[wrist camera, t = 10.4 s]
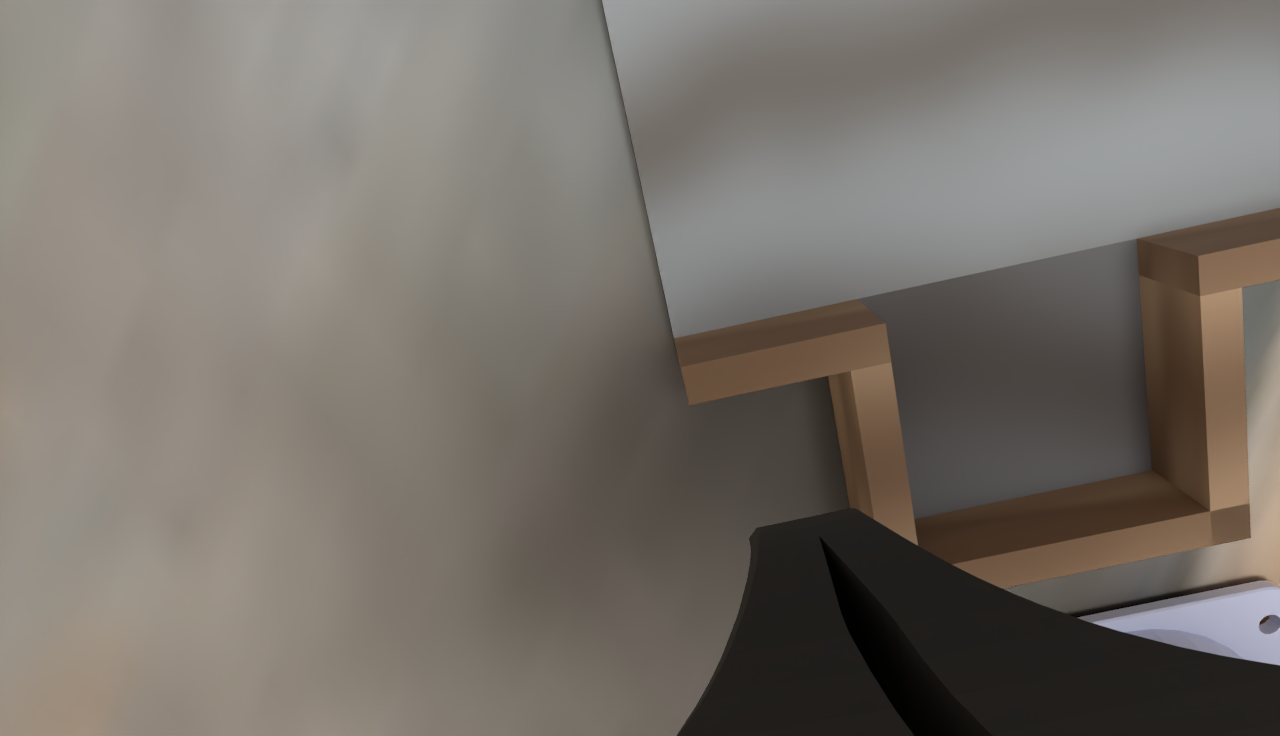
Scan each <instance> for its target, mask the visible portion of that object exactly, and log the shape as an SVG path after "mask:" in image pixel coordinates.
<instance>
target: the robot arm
mask: <svg viewBox="0 0 1280 736" xmlns="http://www.w3.org/2000/svg"><path fill="white" fill-rule="evenodd" d="M749 540H750V545H751V559H750V567H749V572H748V578H747V583H746V586H745V590H744V594H743V598H742V602H741V605H740V609H739V612H738V615H737V619H736V621H735V624H734V626H733V629H732V632H731V634H730V637H729V640H728V642H727V645H726V647H725V650H724V653H723V655H722V657H721V659H720V662H719V664H718V666H717V668H716V670H715V672H714V674H713V676H712V678H711V680H710V682H709V684H708V686H707V688H706V689H705V691H704V693H703V695H702V697H701V698H700V700H699V702H698V704H697V705H696V707H695V708H694V710H693V712H692V713H691V715H690V716H689V718H688V719H687V721H686V722H685V724H684V725H683V727H682V728H681V730H680V731H679V733H678V734H677V736H1280V587H1279V586H1277V585H1276V584H1275V583H1273V582H1270V581H1267V580H1264V581H1255V582H1250V583H1245V584H1240V585H1235V586H1230V587H1225V588H1220V589H1215V590H1211V591H1206V592H1201V593H1196V594H1191V595H1186V596H1181V597H1176V598H1171V599H1166V600H1161V601H1156V602H1151V603H1146V604H1141V605H1136V606H1131V607H1127V608H1122V609H1117V610H1112V611H1107V612H1102V613H1097V614H1092V615H1087V616H1082V617H1077V618H1076V617H1073V616H1071V615H1068V614H1065V613H1062V612H1059V611H1056V610H1054V609H1051V608H1048V607H1045V606H1042V605H1040V604H1037V603H1034V602H1032V601H1030V600H1027V599H1025V598H1022V597H1020V596H1017V595H1015V594H1013V593H1010V592H1008V591H1006V590H1004V589H1002V588H999V587H997V586H995V585H993V584H991V583H989V582H986V581H984V580H982V579H980V578H978V577H976V576H973V575H971V574H970V573H968V572H966V571H964V570H962V569H960V568H958V567H956V566H954V565H952V564H950V563H948V562H946V561H944V560H942V559H941V558H939V557H937V556H935V555H933V554H932V553H930V552H928V551H926V550H924V549H923V548H921V547H919V546H917V545H916V544H914V543H912V542H911V541H909V540H907V539H905V538H904V537H902V536H900V535H899V534H897V533H895V532H894V531H892V530H890V529H889V528H887V527H886V526H884V525H882V524H881V523H879V522H877V521H876V520H874V519H873V518H871V517H869V516H868V515H866V514H864V513H863V512H861V511H859V510H857V509H856V508H851V509H846V510H841V511H836V512H831V513H827V514H822V515H817V516H812V517H807V518H802V519H798V520H793V521H788V522H783V523H778V524H774V525H769V526H764V527H759V528H756V530H755V531H754V532H753V534H752V535H751V536H750V538H749ZM1268 615H1270V616H1269V619H1268V620H1267V621H1266V622H1265V623H1263V624H1261V625H1259V624H1260V621H1261V620H1262V619H1263V618H1264V617H1266V616H1268Z"/></svg>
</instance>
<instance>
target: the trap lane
mask: <svg viewBox="0 0 1280 736" xmlns="http://www.w3.org/2000/svg"><path fill="white" fill-rule="evenodd" d="M602 3H603V8H604V13H605V17H606V22H607V27H608V31H609V36H610V41H611V45H612V50H613V55H614V60H615V64H616V69H617V74H618V78H619V83H620V88H621V92H622V97H623V102H624V107H625V111H626V116H627V121H628V125H629V130H630V135H631V139H632V144H633V149H634V153H635V158H636V163H637V168H638V172H639V177H640V182H641V186H642V191H643V196H644V200H645V205H646V210H647V214H648V219H649V224H650V229H651V233H652V238H653V243H654V247H655V252H656V257H657V261H658V266H659V271H660V276H661V280H662V285H663V290H664V294H665V299H666V304H667V308H668V313H669V318H670V322H671V327H672V332H673V337H674V341H675V346H676V351H677V355H678V360H679V365H680V369H681V373H682V378H683V382H684V386H685V390H686V394H687V398H688V403H689V405H694V404H698V403H703V402H708V401H713V400H717V399H722V398H727V397H731V396H736V395H741V394H745V393H750V392H755V391H759V390H764V389H769V388H773V387H778V386H783V385H788V384H792V383H797V382H802V381H806V380H811V379H816V378H820V377H825V376H828V379H829V385H830V391H831V397H832V403H833V409H834V415H835V421H836V427H837V433H838V439H839V445H840V451H841V457H842V463H843V469H844V475H845V481H846V487H847V493H848V499H849V505H850V509H851V508H856V509H857V510H859V511H861V512H863V513H864V514H866V515H868V516H869V517H871V518H873V519H874V520H876V521H877V522H879V523H881V524H882V525H884V526H886V527H887V528H889V529H890V530H892V531H894V532H895V533H897V534H899V535H900V536H902V537H904V538H905V539H907V540H909V541H911V542H912V543H914V544H916V545H917V546H919V547H921V548H923V549H924V550H926V551H928V552H930V553H932V554H933V555H935V556H937V557H939V558H941V559H942V560H944V561H946V562H948V563H950V564H952V565H954V566H956V567H958V568H960V569H962V570H964V571H966V572H968V573H970V574H971V575H973V576H976V577H978V578H980V579H982V580H984V581H986V582H989V583H991V584H993V585H995V586H997V587H999V588H1007V587H1012V586H1017V585H1022V584H1027V583H1032V582H1037V581H1042V580H1046V579H1051V578H1056V577H1061V576H1066V575H1071V574H1076V573H1081V572H1086V571H1091V570H1095V569H1100V568H1105V567H1110V566H1115V565H1120V564H1125V563H1130V562H1135V561H1140V560H1145V559H1149V558H1154V557H1159V556H1164V555H1169V554H1174V553H1179V552H1184V551H1189V550H1194V549H1198V548H1203V547H1208V546H1213V545H1218V544H1223V543H1228V542H1233V541H1238V540H1243V539H1247V538H1251V534H1250V505H1249V476H1248V448H1247V419H1246V390H1245V362H1244V333H1243V304H1242V287H1247V286H1252V285H1256V284H1261V283H1266V282H1271V281H1275V280H1280V0H602Z"/></svg>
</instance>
